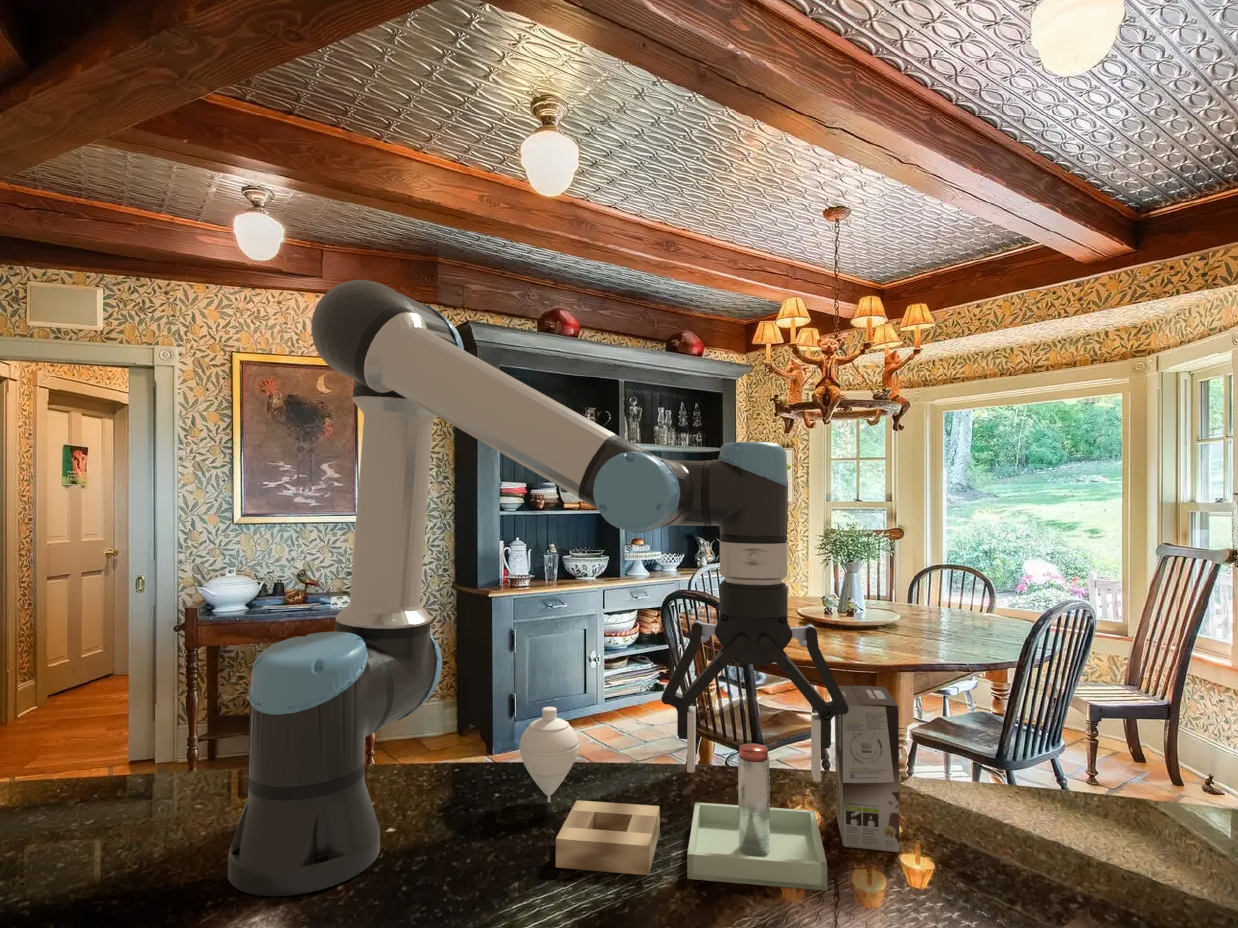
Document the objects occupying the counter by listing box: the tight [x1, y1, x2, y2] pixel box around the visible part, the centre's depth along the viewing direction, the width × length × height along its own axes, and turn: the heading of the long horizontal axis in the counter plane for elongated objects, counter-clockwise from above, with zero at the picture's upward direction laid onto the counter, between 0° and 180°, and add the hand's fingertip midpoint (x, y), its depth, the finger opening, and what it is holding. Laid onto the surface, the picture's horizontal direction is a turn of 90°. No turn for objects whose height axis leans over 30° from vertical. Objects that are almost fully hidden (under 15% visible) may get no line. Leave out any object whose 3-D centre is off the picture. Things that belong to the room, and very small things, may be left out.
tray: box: [686, 801, 829, 892], centre depth 81 cm, size 14×13×2 cm
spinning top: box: [518, 706, 580, 803], centre depth 95 cm, size 8×8×12 cm
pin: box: [737, 742, 771, 857], centre depth 82 cm, size 3×3×11 cm
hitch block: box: [555, 800, 661, 876], centre depth 83 cm, size 10×10×3 cm
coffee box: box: [834, 685, 901, 853], centre depth 87 cm, size 9×6×16 cm
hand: (752, 772), depth 82 cm, fingers open, 13 cm apart
